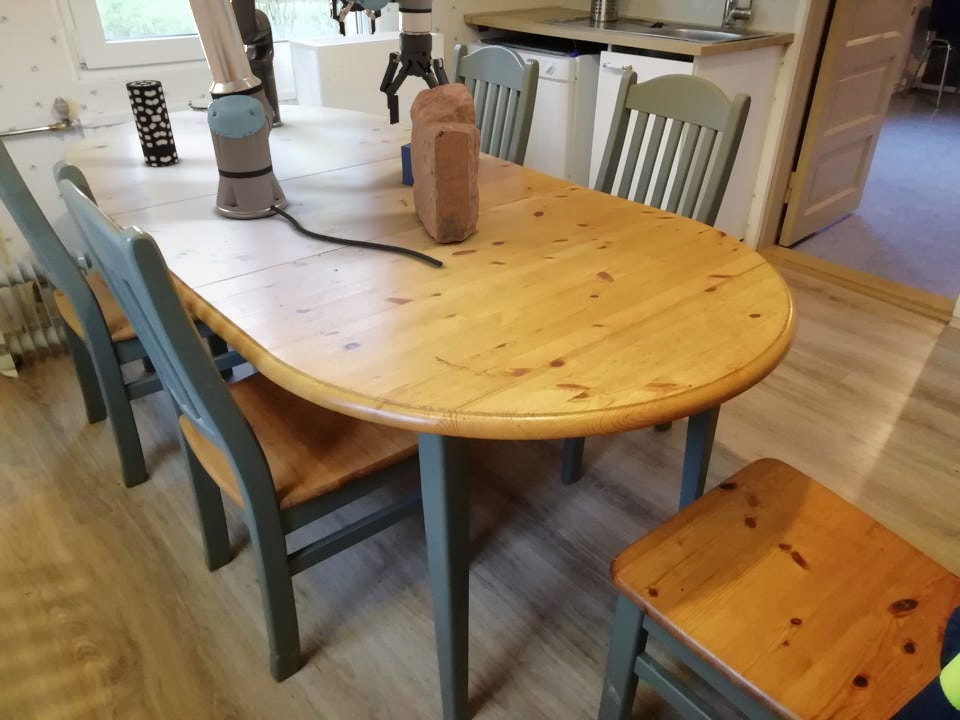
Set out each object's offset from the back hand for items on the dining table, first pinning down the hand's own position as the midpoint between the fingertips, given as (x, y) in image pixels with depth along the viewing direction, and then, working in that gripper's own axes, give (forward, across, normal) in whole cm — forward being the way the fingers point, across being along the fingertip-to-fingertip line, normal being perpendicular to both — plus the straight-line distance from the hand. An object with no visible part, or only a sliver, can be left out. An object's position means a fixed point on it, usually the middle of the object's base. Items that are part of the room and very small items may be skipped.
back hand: (357, 35), depth 196 cm
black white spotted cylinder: (+18, +59, +1) cm, 61 cm away
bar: (+28, -6, +42) cm, 51 cm away
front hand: (+15, +3, +47) cm, 49 cm away
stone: (+28, +10, +77) cm, 82 cm away
